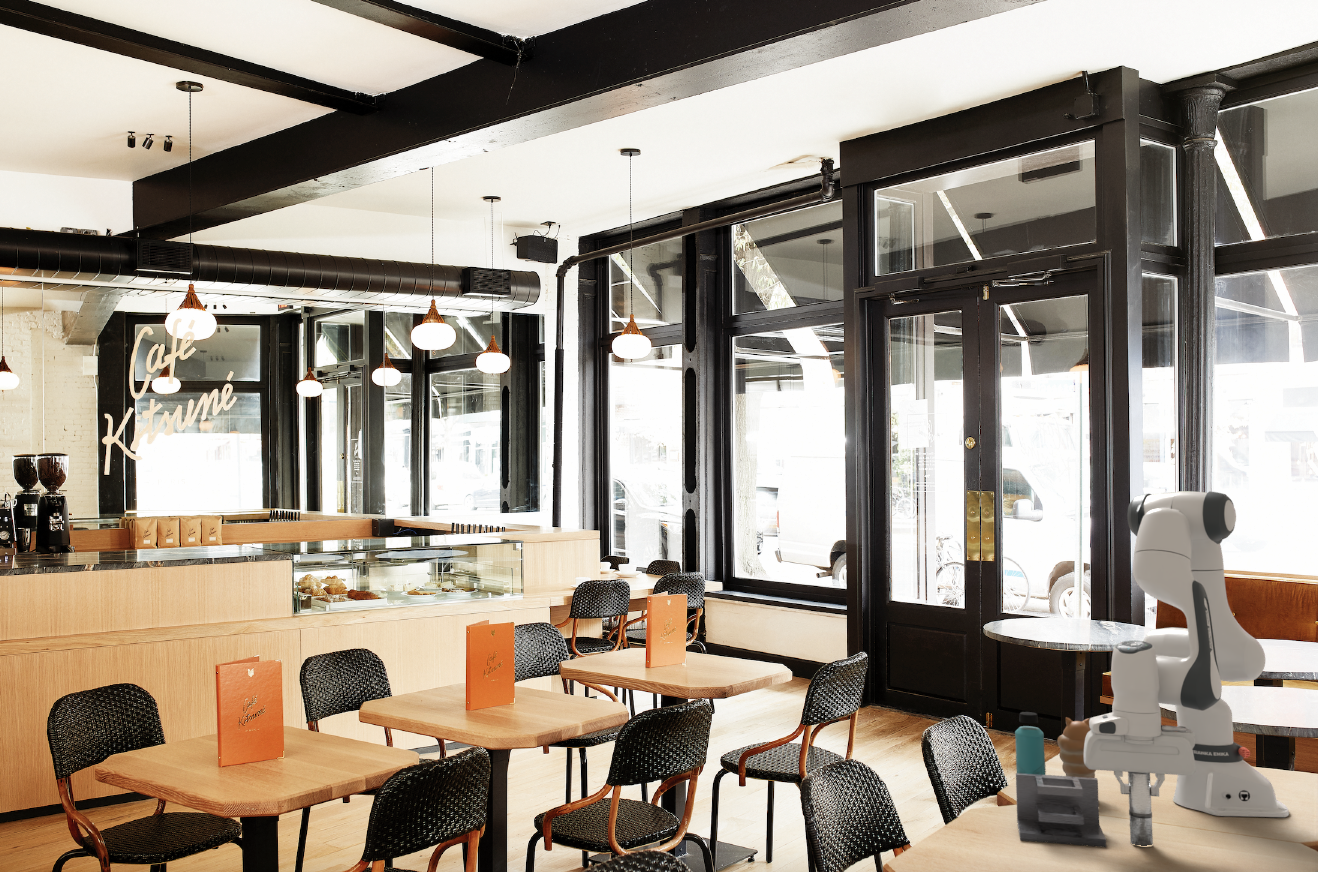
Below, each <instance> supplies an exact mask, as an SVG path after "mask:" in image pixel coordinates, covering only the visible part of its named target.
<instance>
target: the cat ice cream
mask: <svg viewBox="0 0 1318 872" xmlns="http://www.w3.org/2000/svg"><path fill="white" fill-rule="evenodd" d="M1090 718H1091V717H1089V718H1085V719H1084V720H1082V721H1080V720H1074V721H1073V720H1072V719H1071V718H1070V717H1067V716H1066V717H1065V724H1066V726H1065V728H1064V729H1063V733H1062V734H1061V735H1059V736H1058V737H1057V745H1058V748H1059V749H1060V751H1059V755H1058V756H1059V758H1060V759H1059V760H1061V761H1062V765H1061V766H1062V770H1063V772H1064V774H1065V776H1071V777H1087V778H1096V771H1097V770H1091V769H1089V768H1088V767H1087V766H1086V765H1085V764H1084V743H1085V737H1086V735H1087V733H1088V732H1089V731H1090V730H1091V729H1090V726H1089V720H1090Z"/></svg>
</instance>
